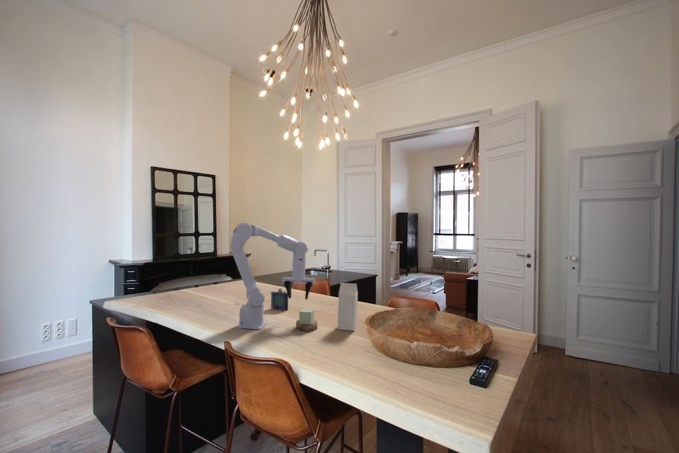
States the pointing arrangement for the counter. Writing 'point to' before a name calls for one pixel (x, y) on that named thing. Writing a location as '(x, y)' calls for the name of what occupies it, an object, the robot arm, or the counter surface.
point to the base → (306, 326)
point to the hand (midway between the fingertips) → (298, 298)
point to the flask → (279, 300)
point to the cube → (306, 316)
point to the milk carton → (347, 306)
